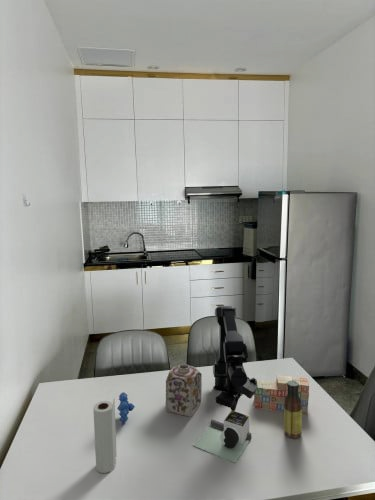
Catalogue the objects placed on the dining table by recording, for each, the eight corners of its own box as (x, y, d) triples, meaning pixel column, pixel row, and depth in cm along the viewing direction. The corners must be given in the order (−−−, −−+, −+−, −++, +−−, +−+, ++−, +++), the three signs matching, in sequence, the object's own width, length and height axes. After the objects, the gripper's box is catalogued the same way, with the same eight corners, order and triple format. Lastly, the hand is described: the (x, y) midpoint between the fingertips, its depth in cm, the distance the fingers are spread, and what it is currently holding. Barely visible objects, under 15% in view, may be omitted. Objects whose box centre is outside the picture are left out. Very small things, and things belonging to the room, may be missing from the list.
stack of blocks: (253, 408, 148) (254, 380, 147) (253, 400, 154) (254, 373, 153) (308, 414, 145) (309, 385, 143) (305, 405, 151) (307, 377, 149)
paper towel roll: (97, 476, 112) (95, 413, 109) (94, 463, 118) (91, 402, 115) (120, 469, 115) (118, 407, 112) (116, 456, 121) (114, 397, 118)
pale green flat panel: (193, 445, 126) (193, 445, 126) (208, 427, 136) (208, 426, 136) (235, 463, 118) (235, 462, 118) (248, 441, 128) (248, 441, 128)
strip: (210, 425, 137) (210, 421, 137) (212, 423, 138) (212, 419, 138) (250, 439, 129) (250, 435, 129) (251, 437, 130) (251, 433, 130)
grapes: (135, 430, 134) (134, 400, 133) (117, 432, 133) (116, 402, 132) (134, 412, 146) (134, 384, 144) (117, 413, 145) (117, 385, 143)
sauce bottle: (302, 431, 134) (305, 381, 131) (300, 441, 128) (302, 389, 125) (284, 426, 137) (286, 377, 134) (281, 436, 131) (283, 385, 128)
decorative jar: (165, 411, 146) (164, 369, 144) (176, 396, 157) (176, 357, 154) (192, 418, 142) (192, 375, 139) (202, 402, 152) (202, 362, 150)
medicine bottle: (249, 415, 131) (236, 435, 120) (249, 433, 132) (236, 454, 122) (231, 409, 134) (217, 428, 124) (231, 427, 135) (217, 447, 125)
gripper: (244, 390, 120) (243, 432, 123) (263, 366, 136) (262, 404, 139) (214, 381, 126) (214, 421, 129) (236, 359, 142) (235, 396, 144)
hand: (233, 410), depth 135 cm, fingers closed
